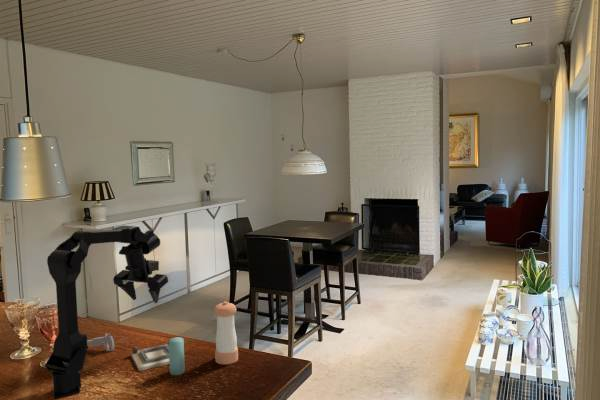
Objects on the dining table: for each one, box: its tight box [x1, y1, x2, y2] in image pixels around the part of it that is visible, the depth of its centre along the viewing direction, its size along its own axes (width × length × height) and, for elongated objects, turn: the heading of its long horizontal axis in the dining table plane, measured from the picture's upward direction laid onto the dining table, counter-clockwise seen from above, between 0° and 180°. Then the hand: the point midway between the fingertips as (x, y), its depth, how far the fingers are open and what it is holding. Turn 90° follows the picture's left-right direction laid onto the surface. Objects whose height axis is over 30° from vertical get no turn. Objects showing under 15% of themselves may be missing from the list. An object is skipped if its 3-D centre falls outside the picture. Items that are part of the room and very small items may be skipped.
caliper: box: [87, 332, 115, 352], centre depth 159 cm, size 20×1×6 cm, turn 80°
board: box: [130, 337, 173, 372], centre depth 152 cm, size 14×13×3 cm
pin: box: [167, 336, 185, 376], centre depth 142 cm, size 4×4×10 cm
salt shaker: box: [213, 300, 239, 365], centre depth 149 cm, size 7×7×19 cm
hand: (145, 301), depth 161 cm, fingers open, 9 cm apart
